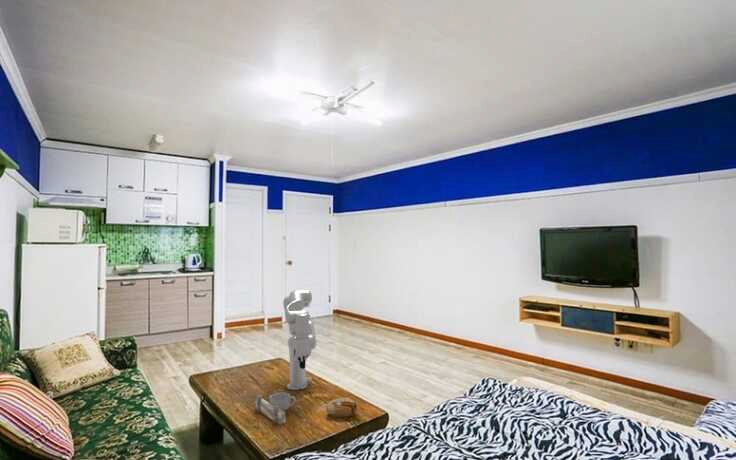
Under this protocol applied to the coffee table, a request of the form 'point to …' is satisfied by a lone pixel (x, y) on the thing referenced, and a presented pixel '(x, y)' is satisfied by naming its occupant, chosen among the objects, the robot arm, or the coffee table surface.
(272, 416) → the bar
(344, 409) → the nautilus
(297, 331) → the robot arm
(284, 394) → the teacup
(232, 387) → the coffee table surface
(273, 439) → the coffee table surface
